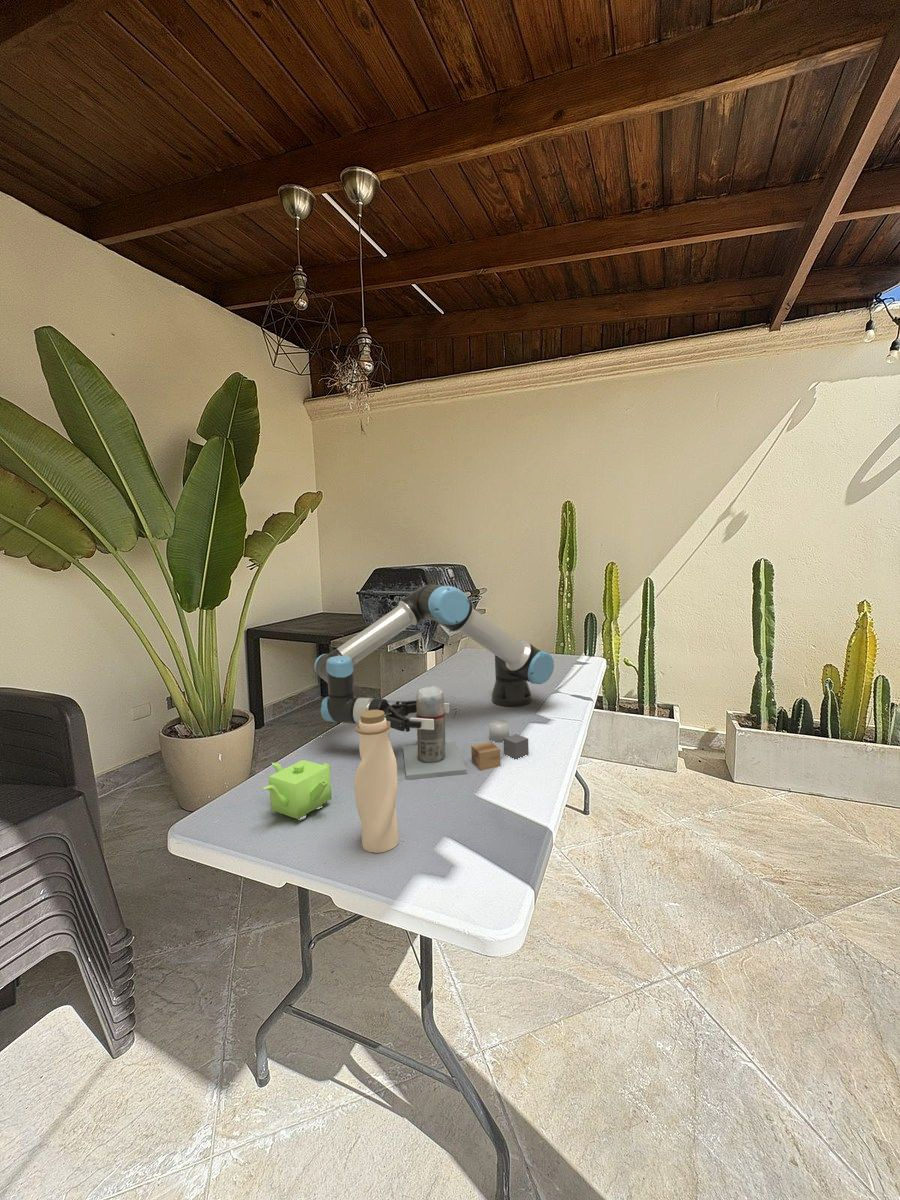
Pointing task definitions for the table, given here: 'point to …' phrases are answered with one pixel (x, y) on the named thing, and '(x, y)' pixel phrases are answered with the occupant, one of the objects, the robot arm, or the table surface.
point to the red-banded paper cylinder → (434, 740)
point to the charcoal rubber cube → (516, 746)
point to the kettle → (299, 788)
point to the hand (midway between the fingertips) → (441, 716)
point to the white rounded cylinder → (498, 730)
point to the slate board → (433, 763)
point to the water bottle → (376, 783)
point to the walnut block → (485, 755)
